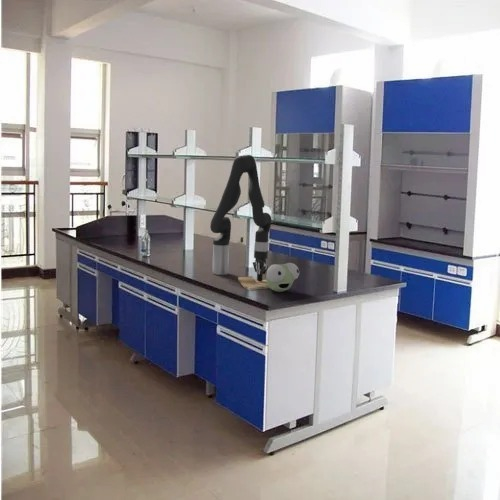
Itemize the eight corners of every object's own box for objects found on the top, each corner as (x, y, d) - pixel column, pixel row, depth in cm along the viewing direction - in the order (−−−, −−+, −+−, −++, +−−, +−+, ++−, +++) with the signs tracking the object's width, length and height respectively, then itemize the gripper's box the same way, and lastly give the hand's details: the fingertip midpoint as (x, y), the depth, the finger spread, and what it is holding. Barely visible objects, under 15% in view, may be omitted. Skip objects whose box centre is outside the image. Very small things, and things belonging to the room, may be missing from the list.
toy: (274, 296, 295) (275, 266, 293) (256, 290, 307) (257, 262, 305) (302, 292, 306) (303, 263, 304) (284, 287, 318) (285, 259, 315)
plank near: (237, 279, 318) (238, 277, 317) (251, 277, 322) (251, 276, 322) (244, 288, 312) (245, 286, 312) (258, 286, 317) (258, 284, 316)
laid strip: (244, 288, 312) (244, 285, 312) (273, 285, 321) (273, 283, 321) (249, 290, 308) (249, 288, 307) (278, 287, 317) (279, 285, 317)
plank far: (252, 283, 324) (252, 280, 324) (265, 281, 328) (265, 279, 328) (259, 286, 317) (259, 284, 317) (273, 285, 321) (273, 283, 321)
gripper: (248, 247, 326) (247, 278, 329) (261, 252, 314) (260, 284, 317) (260, 247, 329) (259, 277, 332) (273, 251, 318) (272, 283, 321)
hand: (259, 280), depth 325 cm, fingers closed
